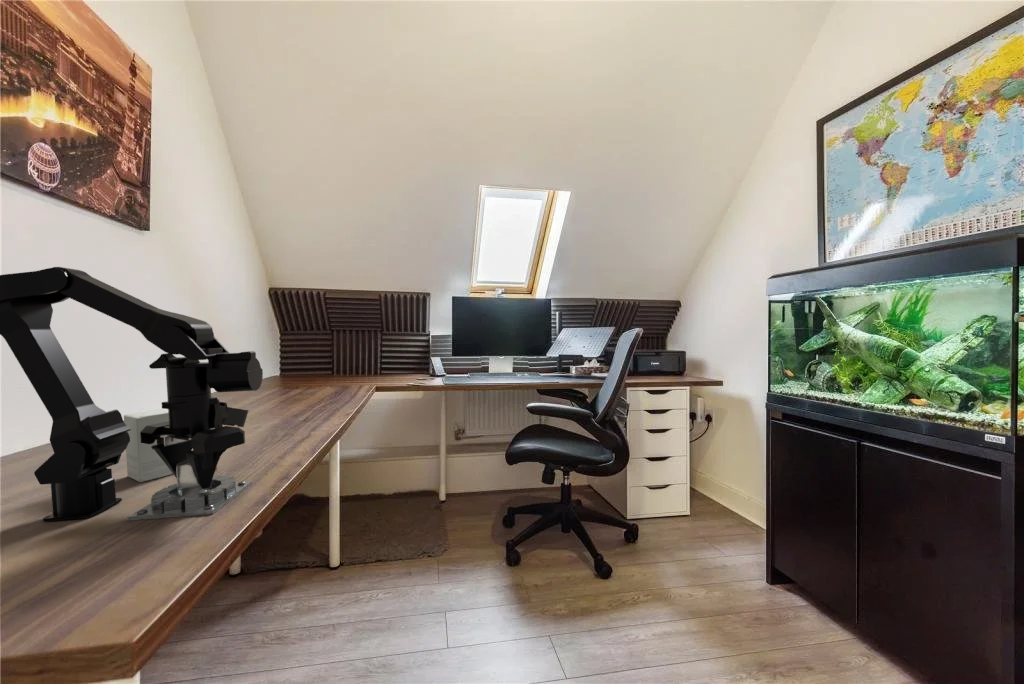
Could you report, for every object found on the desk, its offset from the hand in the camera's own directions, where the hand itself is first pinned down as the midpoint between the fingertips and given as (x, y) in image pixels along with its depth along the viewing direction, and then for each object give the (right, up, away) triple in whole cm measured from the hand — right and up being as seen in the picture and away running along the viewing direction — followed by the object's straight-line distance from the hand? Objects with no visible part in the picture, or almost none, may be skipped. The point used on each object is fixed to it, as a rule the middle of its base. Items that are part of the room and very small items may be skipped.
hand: (195, 485), depth 68 cm
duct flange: (0, -3, 0) cm, 3 cm away
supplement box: (-19, -3, +14) cm, 23 cm away
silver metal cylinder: (0, -2, 0) cm, 2 cm away
